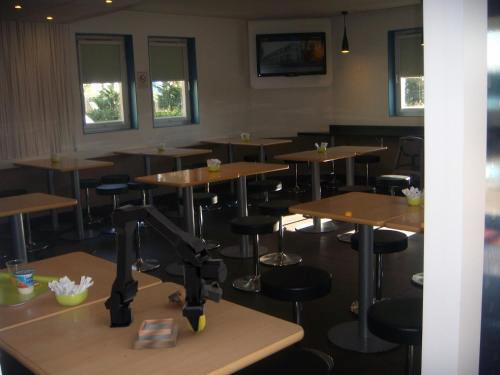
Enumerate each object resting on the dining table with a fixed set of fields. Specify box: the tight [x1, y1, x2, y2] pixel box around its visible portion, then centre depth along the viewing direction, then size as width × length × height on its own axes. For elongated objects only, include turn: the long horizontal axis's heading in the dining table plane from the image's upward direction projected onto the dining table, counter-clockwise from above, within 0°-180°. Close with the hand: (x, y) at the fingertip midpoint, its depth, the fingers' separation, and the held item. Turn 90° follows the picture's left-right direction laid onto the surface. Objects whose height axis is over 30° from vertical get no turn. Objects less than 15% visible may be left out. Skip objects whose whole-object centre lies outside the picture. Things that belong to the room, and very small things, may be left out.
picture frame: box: [133, 318, 180, 350], centre depth 174 cm, size 12×12×5 cm
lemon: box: [187, 314, 206, 334], centre depth 177 cm, size 6×6×8 cm
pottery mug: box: [167, 287, 185, 305], centre depth 201 cm, size 12×10×8 cm
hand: (196, 327), depth 177 cm, fingers closed on lemon, 5 cm apart
